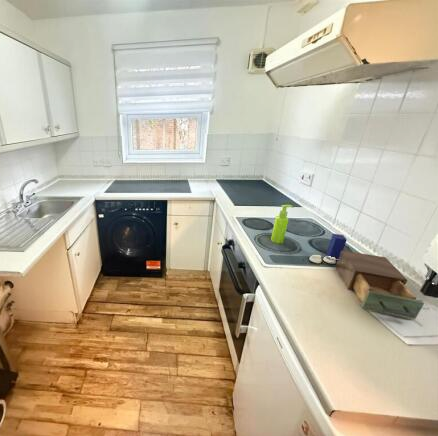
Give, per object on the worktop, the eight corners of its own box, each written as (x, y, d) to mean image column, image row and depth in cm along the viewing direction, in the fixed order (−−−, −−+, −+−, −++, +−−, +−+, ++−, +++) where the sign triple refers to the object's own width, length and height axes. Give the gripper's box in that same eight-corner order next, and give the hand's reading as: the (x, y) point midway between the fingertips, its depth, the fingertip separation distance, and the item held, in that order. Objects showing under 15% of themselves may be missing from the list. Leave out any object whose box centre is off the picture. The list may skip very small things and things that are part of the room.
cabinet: (397, 299, 85) (407, 279, 81) (347, 289, 90) (355, 270, 86) (377, 275, 98) (385, 257, 95) (335, 267, 103) (341, 250, 100)
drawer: (423, 330, 71) (433, 312, 69) (367, 317, 76) (375, 300, 73) (391, 291, 87) (399, 276, 85) (347, 282, 92) (353, 268, 89)
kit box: (335, 255, 112) (343, 234, 107) (339, 261, 108) (346, 239, 103) (325, 254, 113) (332, 233, 109) (328, 259, 109) (335, 238, 105)
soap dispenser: (287, 243, 123) (296, 207, 115) (274, 243, 123) (282, 207, 115) (281, 238, 128) (289, 203, 121) (268, 238, 128) (276, 203, 121)
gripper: (520, 250, 48) (471, 319, 55) (463, 223, 60) (429, 281, 68) (468, 243, 50) (428, 310, 57) (424, 218, 63) (395, 275, 70)
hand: (429, 294), depth 62 cm, fingers closed
